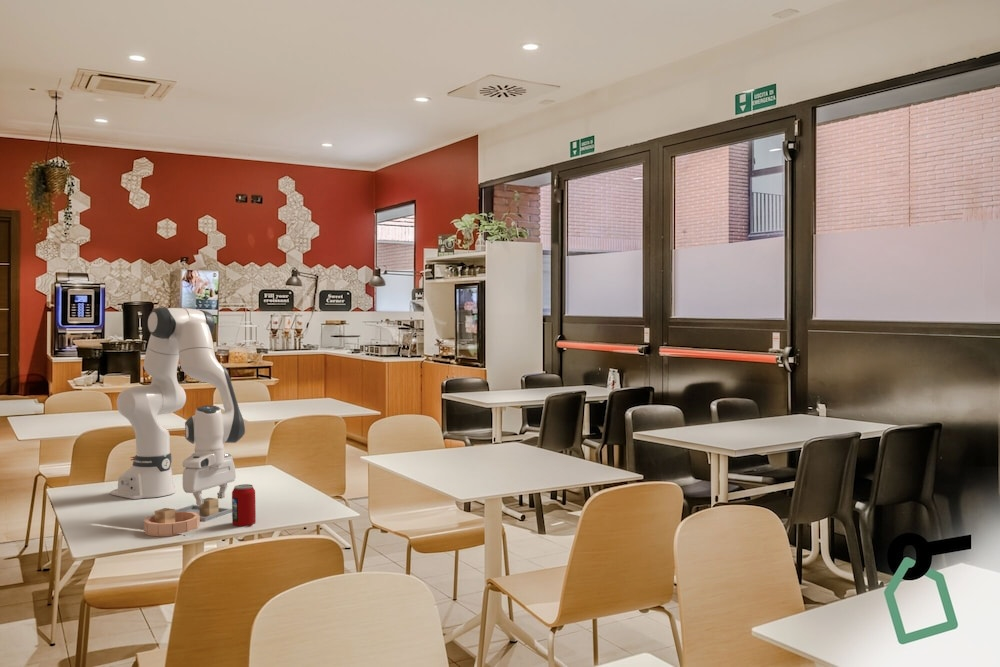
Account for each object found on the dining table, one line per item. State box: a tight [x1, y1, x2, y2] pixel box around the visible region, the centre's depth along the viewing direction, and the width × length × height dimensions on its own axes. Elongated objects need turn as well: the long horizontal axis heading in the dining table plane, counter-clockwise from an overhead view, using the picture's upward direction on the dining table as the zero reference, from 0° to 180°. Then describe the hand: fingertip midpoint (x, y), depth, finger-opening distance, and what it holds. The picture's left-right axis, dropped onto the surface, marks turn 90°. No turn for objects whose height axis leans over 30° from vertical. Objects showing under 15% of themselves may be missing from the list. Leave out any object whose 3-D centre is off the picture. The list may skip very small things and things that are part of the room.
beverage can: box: [231, 483, 257, 528], centre depth 245 cm, size 7×7×12 cm
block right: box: [199, 497, 220, 517], centre depth 256 cm, size 4×4×5 cm
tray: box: [175, 504, 232, 522], centre depth 257 cm, size 16×12×2 cm
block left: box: [154, 507, 176, 523], centre depth 242 cm, size 4×4×5 cm
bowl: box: [143, 511, 201, 538], centre depth 241 cm, size 15×15×4 cm
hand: (210, 501), depth 255 cm, fingers open, 8 cm apart
